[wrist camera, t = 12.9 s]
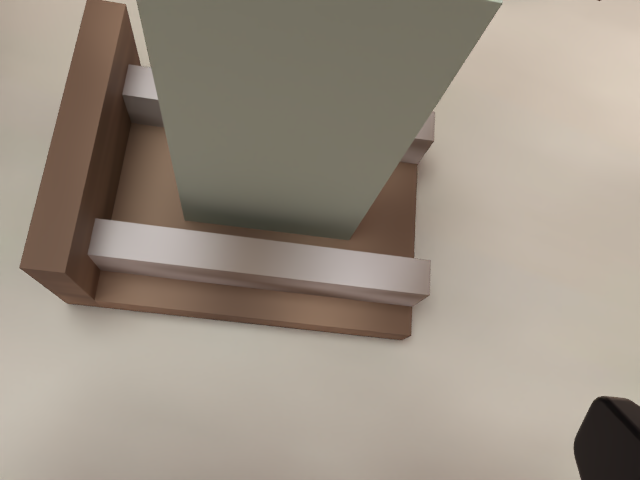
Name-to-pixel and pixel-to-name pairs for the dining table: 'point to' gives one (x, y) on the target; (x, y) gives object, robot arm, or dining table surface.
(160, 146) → the cabinet base
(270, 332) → the dining table surface
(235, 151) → the pale green rectangular box
